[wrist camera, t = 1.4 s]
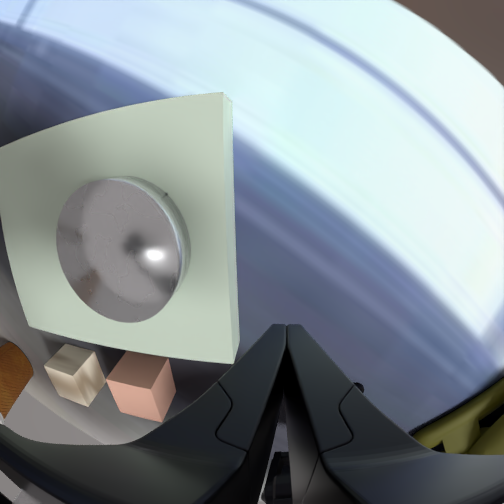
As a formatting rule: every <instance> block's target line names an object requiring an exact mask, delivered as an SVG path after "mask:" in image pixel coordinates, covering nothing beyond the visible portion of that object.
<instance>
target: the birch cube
mask: <svg viewBox="0 0 504 504" xmlns="http://www.w3.org/2000/svg"><path fill="white" fill-rule="evenodd" d="M44 367H45V369H46V371H47V373H48V375H49V377H50V379H51V381H52V383H53V385H54V387H55V389H56V391H57V393H58V395H59V396H61V397H63V398H66V399H68V400H71V401H73V402H76V403H79V404H81V405H84V406H87V407H89V405H90V404H91V402H92V401H93V400H94V398H95V397H96V395H97V394H98V393H99V391H100V390H101V388H102V387H103V386H104V384H105V383H106V380H105V378H104V375H103V373H102V370H101V368H100V365H99V362H98V360H97V357H96V354H95V352H94V351H92V350H87V349H83V348H80V347H76V346H72V345H68V344H65V345H64V346H63V347H62V348H61V349H60V350H59V351H58V352H57V353H56V354H55V355H54V356H53V357H52V358H51V359H50V360H49V361H48V362H47V363H46V364H45V365H44Z"/></svg>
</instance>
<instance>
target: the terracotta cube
mask: <svg viewBox="0 0 504 504" xmlns="http://www.w3.org/2000/svg"><path fill="white" fill-rule="evenodd" d="M106 381H107V383H108V385H109V388H110V390H111V392H112V395H113V397H114V399H115V401H116V404H117V406H118V408H119V410H120V412H122V413H126V414H130V415H133V416H137V417H141V418H145V419H150V420H154V421H158V422H163V420H164V417H165V415H166V413H167V411H168V408H169V406H170V404H171V402H172V399H173V397H174V395H175V393H176V388H175V384H174V380H173V376H172V372H171V368H170V363H169V359H168V358H167V357H160V356H154V355H147V354H141V353H136V352H130V351H126V353H125V354H124V355H123V357H122V358H121V359H120V361H119V362H118V363H117V365H116V366H115V367H114V369H113V370H112V371H111V373H110V374H109V375H108V377H107V378H106Z"/></svg>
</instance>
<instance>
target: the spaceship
mask: <svg viewBox="0 0 504 504" xmlns="http://www.w3.org/2000/svg"><path fill="white" fill-rule="evenodd" d="M503 404H504V377H503V378H502V379H501V380H499V381H498V382H497V383H495V384H494V385H493V386H491V387H490V388H489V389H487V390H486V391H484V392H483V393H481V394H480V395H478V396H477V397H475V398H474V399H472V400H471V401H469V402H468V403H466V404H465V405H463V406H461V407H460V408H458V409H456V410H455V411H453V412H451V413H450V414H448V415H446V416H445V417H443V418H441V419H439V420H437V421H435V422H434V423H432V424H430V425H428V426H426V427H424V428H422V429H421V430H419V431H418V432H417V433H415V434H414V435H413V438H414V439H415V440H417V441H418V442H419V443H421V444H422V445H423V446H425V447H427V448H429V449H431V448H433V447H435V446H437V445H439V444H441V443H443V446H444V449H445V450H443V451H441V453H450V454H467V455H504V414H503V415H502V416H501V417H500V418H499V419H498V420H497V421H496V422H495V423H494V424H493V425H492V426H491V427H483V428H480V427H479V423H478V421H480V420H481V419H483V418H484V417H486V416H487V415H489V414H490V413H492V412H493V411H494V410H496V409H497V408H499V407H500V406H501V405H503Z"/></svg>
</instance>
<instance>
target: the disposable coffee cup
mask: <svg viewBox="0 0 504 504" xmlns="http://www.w3.org/2000/svg"><path fill="white" fill-rule="evenodd" d="M32 376H33V369H32V366H31V364H30V362H29V361H28V359H27V358H26V356H25V355H24V353H23V352H22V351H21V350H20V349H19V348H18V347H17V346H16V345H14V344H13V343H11V342H8V343H6V344H5V345H3V346H1V347H0V424H3V423H4V419H5V417H6V415H7V414H8V412H9V411H10V409H11V407H12V406H13V404H14V403H15V401H16V399H17V398H18V397H19V395H20V394H21V392H22V390H23V389H24V387H25V386H26V384H27V383H28V382H29V380H30V379H31V377H32Z"/></svg>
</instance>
